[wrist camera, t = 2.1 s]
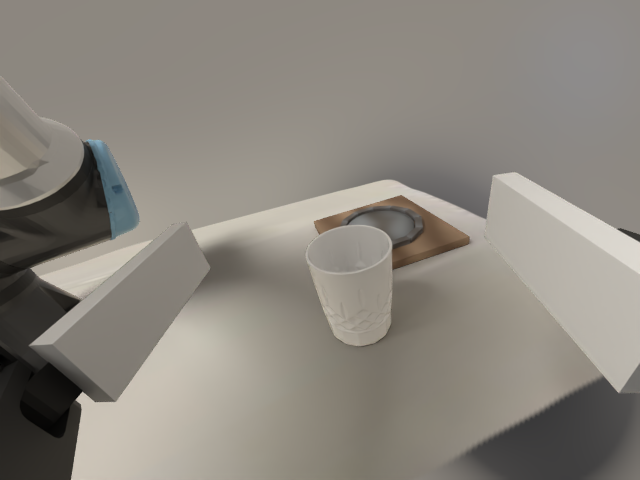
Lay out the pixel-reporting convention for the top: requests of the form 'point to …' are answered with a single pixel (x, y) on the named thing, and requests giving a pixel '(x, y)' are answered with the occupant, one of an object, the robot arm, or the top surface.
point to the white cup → (353, 281)
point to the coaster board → (402, 229)
